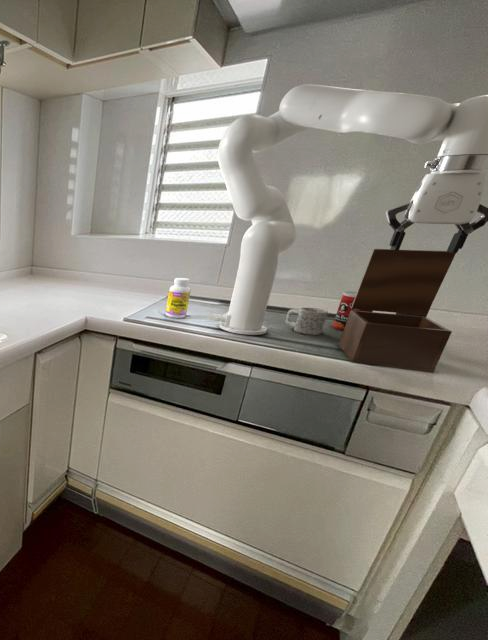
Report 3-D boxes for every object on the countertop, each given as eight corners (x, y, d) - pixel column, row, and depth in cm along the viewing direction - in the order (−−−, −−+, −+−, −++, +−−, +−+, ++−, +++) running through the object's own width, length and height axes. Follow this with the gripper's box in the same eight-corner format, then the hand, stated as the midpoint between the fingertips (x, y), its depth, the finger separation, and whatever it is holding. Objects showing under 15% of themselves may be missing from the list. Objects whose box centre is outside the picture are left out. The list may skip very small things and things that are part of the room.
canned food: (325, 325, 128) (337, 291, 124) (351, 325, 128) (363, 291, 124) (344, 332, 121) (357, 296, 117) (372, 332, 121) (385, 296, 117)
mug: (325, 332, 121) (332, 310, 119) (314, 335, 118) (321, 313, 116) (288, 324, 129) (294, 304, 127) (278, 327, 126) (283, 307, 124)
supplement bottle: (165, 317, 139) (172, 279, 134) (164, 313, 145) (170, 276, 140) (186, 319, 137) (194, 280, 132) (184, 314, 143) (191, 277, 138)
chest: (433, 372, 92) (452, 331, 88) (352, 361, 98) (366, 323, 95) (409, 353, 104) (425, 316, 100) (338, 345, 110) (350, 310, 107)
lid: (456, 251, 92) (447, 247, 97) (374, 249, 99) (369, 245, 103) (426, 315, 100) (419, 309, 104) (351, 308, 106) (347, 303, 110)
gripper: (409, 166, 85) (377, 250, 92) (529, 163, 77) (484, 255, 84) (397, 168, 91) (368, 247, 98) (507, 166, 84) (467, 251, 90)
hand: (422, 250), depth 91 cm, fingers open, 9 cm apart
